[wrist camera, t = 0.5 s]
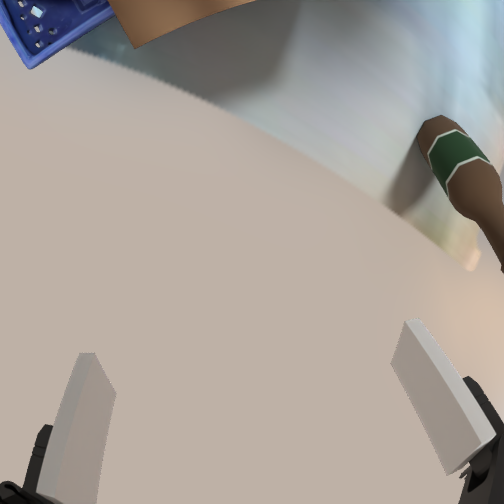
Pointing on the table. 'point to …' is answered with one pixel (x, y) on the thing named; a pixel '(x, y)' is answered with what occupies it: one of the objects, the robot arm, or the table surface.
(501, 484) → the robot arm
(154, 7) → the shelf
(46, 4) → the flower pot
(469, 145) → the beer bottle
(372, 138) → the table surface
